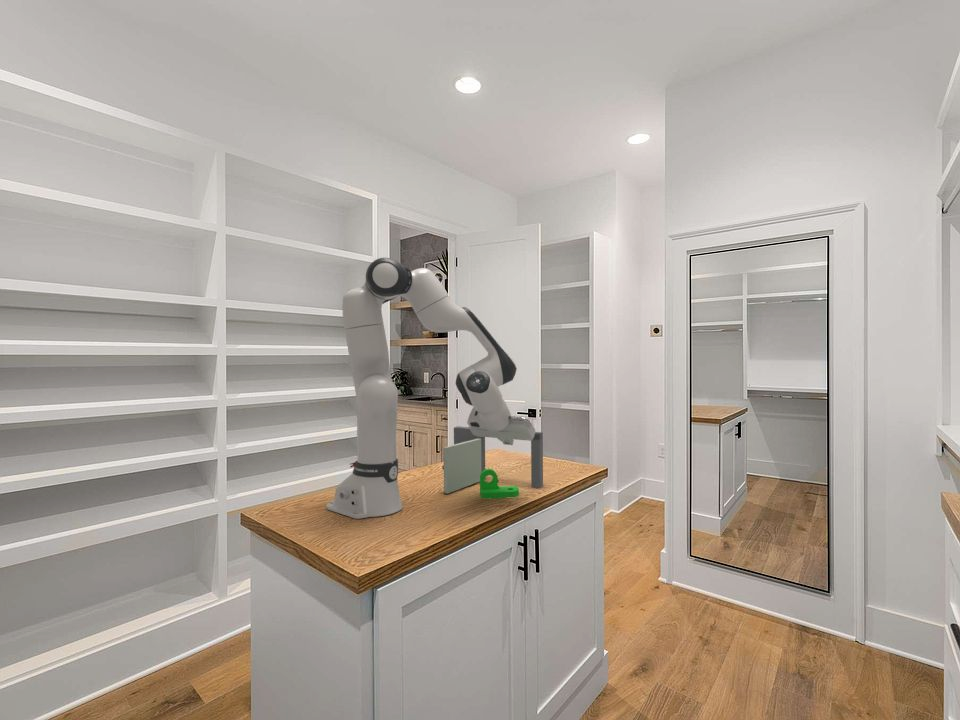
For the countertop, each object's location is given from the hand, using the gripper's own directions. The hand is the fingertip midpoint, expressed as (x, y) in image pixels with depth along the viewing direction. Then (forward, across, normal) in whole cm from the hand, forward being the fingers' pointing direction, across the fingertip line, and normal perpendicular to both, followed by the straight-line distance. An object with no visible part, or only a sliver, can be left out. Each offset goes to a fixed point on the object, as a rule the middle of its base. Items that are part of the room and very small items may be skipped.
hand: (508, 443), depth 151 cm
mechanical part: (+11, +3, +13) cm, 17 cm away
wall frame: (+20, +10, +3) cm, 22 cm away
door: (+11, +17, +11) cm, 24 cm away
